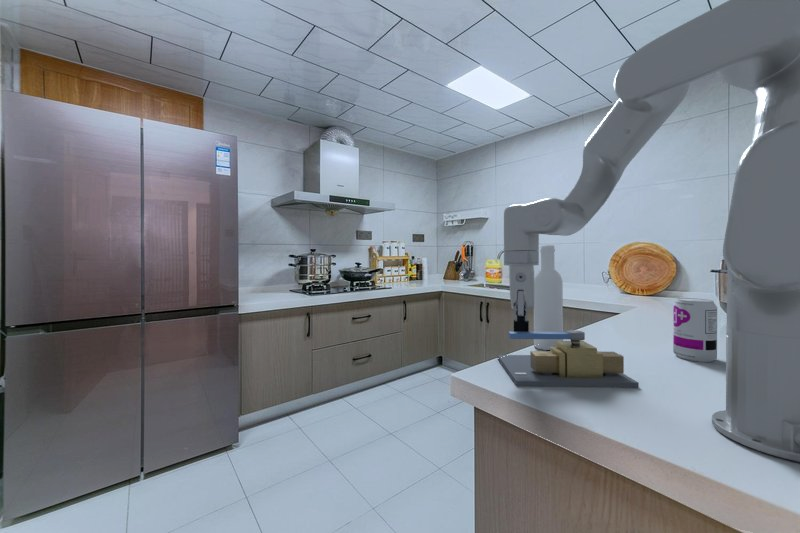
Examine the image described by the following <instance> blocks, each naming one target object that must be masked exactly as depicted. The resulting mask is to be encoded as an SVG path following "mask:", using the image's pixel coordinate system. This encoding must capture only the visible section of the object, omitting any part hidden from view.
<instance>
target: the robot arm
mask: <svg viewBox="0 0 800 533" xmlns="http://www.w3.org/2000/svg"><path fill="white" fill-rule="evenodd" d="M715 73H717V75H718V76H719V78H720V79H721V80H722V81H723V82H724V83H726V84H728V85H729V86H733V87H736V88H740V89H742V90H747V91H748V92H751V93H752V94H753V95H754V96H755V98H756V101H757V102H756V103H757V104H756V111H755V114H754V120H753V121H754V123H753V131H752V134H751V135H752V136H751V141H750V145H748V146H747V148H746V149H744V151H743V152H742V154H741V156H740V158H739V160H738V163H737V167H736V171H735V174H734V175H735V176H734V182H733V188H732V193H731V194H732V195H731V198H730V199H731V200H730V206H729V210H728V216H727V221H726V222H727V223H726V229H725V234H724V240H723V245H722V257H723V260H724V263H725V265H726V270H727V278H726V280H727V281H726V326H725V329H726V330H725V331H726V333H725V334H726V336H725V337H726V339H725V340H726V343H725V351H726V353H725V410H719V411H716V412H713V413H712V415H711V424H712V426H713V427H714V428H715V429H716V430H717V431H718V432H719V433H721V434H722V435H724V436H725V437H727V438H729V439H730V440H732V441H734V442H737V443H738V444H741V445H743V446H745V447H748V448H750V449H753V450H756V451H758V452H761V453H763V454H767V455H769V456H774V457H777V458H781V459H784V460H789V461H794V462H798V463H800V0H727V1H725V2H723V3H722V4H719V5H717V6H714V8H712V9H709V10H708V11H706V12H703V13H701V15H698V16H696V17H694V18H693V19H690V20H689V21H687V22H685V23H682V24H681V25H679V26H677V27H675V28H674V29H672V30H670V31H667V32H666V33H664V34H662V35H659V37H657V38H655V39H653V40H651V41H650V42H648V43H646V44H645V45H643V46H642V47H641V48H639V49H637V50H636V51H635V52H633V53H632V54H631V55H630V56H629V57H628V58H627V59H625V61H624V62H623V63H622V64H621V65H620V67H619V68H618V70H617V72H616V74H615V75H614V76H615V77H614V80H613V88H614V89H613V90H614V93H615V94H616V96H617V97H618V100H616V102H615V103H614V104H613V106H612V107H611V109H610V110H609V111H608V112H607V114H606V116H605V117H604V118H603V119H602V120H601V122H600V124H599V125H597V127H596V128H595V129H594V131H593V132H592V133H591V135H590V136H589V137H588V139H587V141H585V142H584V143H585V144H584V146H583V150H582V151H583V152H582V167H581V168H582V169H581V172H580V176H579V178H578V180H577V181H576V183H575V184H574V186H573V188H572V189H571V191H570V192H569V193H568V194H567V195H566V197H564V199H559V198H556V197H555V198H554V197H547V198H543V199H539V200H537V201H534V202H529V203H519V204H511V205H509V206H507V207H506V208H505V209H504V211H503V265H504V266H509V269H508V270H509V275H508V276H509V297H510V306H511V307H510V308H511V309H513V310H514V319H513V332H530V330H529V329H530V328H529V325H530V324H529V322H530V321H529V320H528V310H529V309H531V311H534V292H535V288H534V286H535V283H534V278H535V267H534V266H539V265H540V260H539V259H540V258H539V257H540V249H539V248H540V238H539V236H540V235H548V236H561V237H562V236H563V237H566V236H571V235H572V236H573V235H574V234H577V233H578V232H579V231H581V230H582V229H583V228H584V227H585V226H586V225H587V224H588V223H590V221H591V220H592V219H593V217H594V216H595V215H596V214H597V213H598V212H599V211H600V209H601V208H602V207H603V206H604V205H605V203H606V202H607V201H608V199H609V198H610V196H611V194H612V193H613V191H615V190H614V189H615V188H616V186H617V185H618V183H619V181H620V180H621V178H622V176H623V173H624V171H625V170H626V168H627V167H628V165H629V164H630V163H631V161H633V159H634V158H635V157H636V156H637V155H638V154H639V153H640V151H641V149H643V148H644V147H645V146H646V144H647V143H648V142H649V141H650V139H651V138H653V136H654V135H655V133H656V132H657V131H658V130H659V129H660V128H661V127H662V126H663V124H665V122H666V121H667V120H668V119H669V117H670V116H671V115H672V114H673V113H674V112H675V110H677V108H678V107H679V106H680V104H681V103H682V102H683V100H685V97H686V95H687V94H688V91H689V89H690V83H692V82H694V81H698V80H700V79H703V78H705V77H708V76H710V75H712V74H715Z"/></svg>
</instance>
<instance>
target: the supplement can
mask: <svg viewBox="0 0 800 533" xmlns="http://www.w3.org/2000/svg"><path fill="white" fill-rule="evenodd" d="M672 306H673V320H672V321H673V327H672V328H673V332H672V333H673V334H672V335H673V338H672V339H673V340H672V342H673V347H672V348H673V351H672V352H673V354H675V355H676V357H678V358H680V359H683V360H686V361H692V362H700V363H712V362H714V361H716V360H717V359H718V307H717V305H716V303H715V301H714V300H713V299H707V298H698V297H697V298H694V297H679V298H676V300H675V301H674V303H673V305H672Z"/></svg>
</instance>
